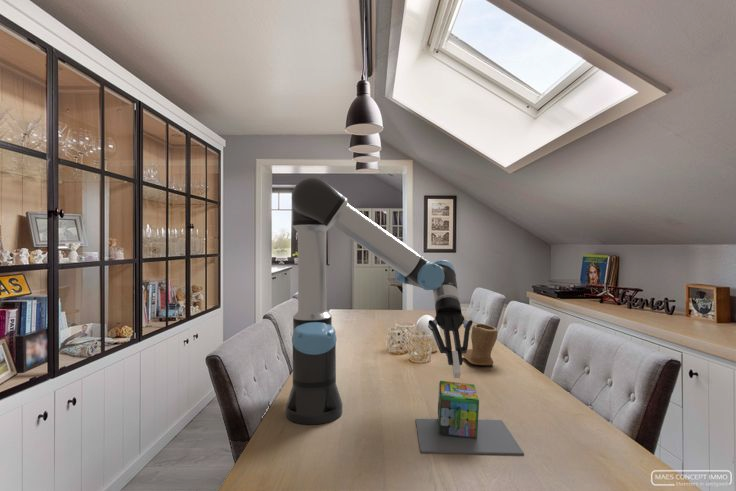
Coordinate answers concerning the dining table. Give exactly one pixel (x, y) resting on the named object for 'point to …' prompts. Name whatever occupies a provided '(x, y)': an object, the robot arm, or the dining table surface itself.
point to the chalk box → (458, 409)
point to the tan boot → (481, 344)
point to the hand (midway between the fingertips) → (457, 375)
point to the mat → (468, 439)
